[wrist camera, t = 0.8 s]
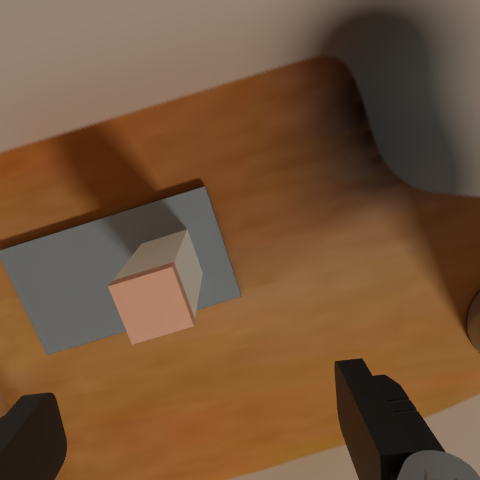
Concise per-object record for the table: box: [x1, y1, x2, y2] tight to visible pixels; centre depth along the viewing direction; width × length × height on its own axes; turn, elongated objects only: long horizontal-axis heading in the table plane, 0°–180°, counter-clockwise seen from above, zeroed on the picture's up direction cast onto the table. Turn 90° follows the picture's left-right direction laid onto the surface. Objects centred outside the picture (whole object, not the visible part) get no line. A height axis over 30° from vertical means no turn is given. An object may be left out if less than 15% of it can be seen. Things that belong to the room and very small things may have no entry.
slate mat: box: [0, 186, 241, 355], centre depth 34 cm, size 18×10×1 cm, turn 107°
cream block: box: [108, 230, 203, 345], centre depth 29 cm, size 4×4×10 cm
